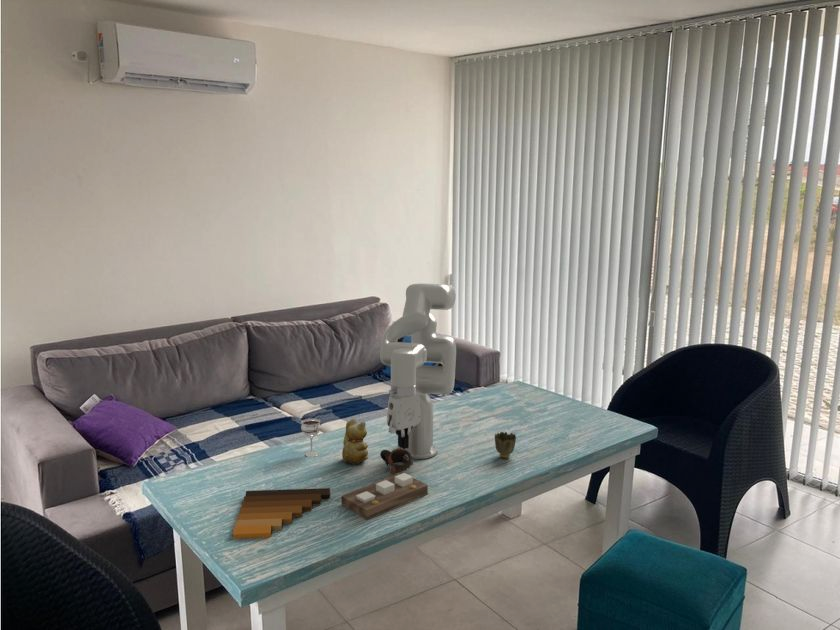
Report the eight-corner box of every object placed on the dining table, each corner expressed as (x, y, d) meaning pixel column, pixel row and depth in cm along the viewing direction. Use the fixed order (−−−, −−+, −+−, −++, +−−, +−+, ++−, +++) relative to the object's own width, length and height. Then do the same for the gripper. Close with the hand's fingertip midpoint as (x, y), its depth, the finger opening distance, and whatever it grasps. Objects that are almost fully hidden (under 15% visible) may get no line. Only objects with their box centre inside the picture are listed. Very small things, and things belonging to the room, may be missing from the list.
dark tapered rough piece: (490, 458, 242) (491, 437, 241) (498, 451, 249) (499, 430, 247) (510, 463, 239) (511, 441, 237) (518, 455, 245) (519, 434, 244)
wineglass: (320, 458, 242) (319, 425, 239) (300, 458, 242) (299, 425, 239) (322, 450, 248) (321, 418, 246) (303, 450, 248) (302, 418, 246)
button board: (341, 505, 209) (341, 495, 208) (401, 481, 225) (401, 471, 224) (366, 519, 200) (366, 509, 199) (427, 493, 216) (427, 484, 216)
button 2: (394, 484, 217) (394, 476, 217) (404, 480, 220) (404, 472, 219) (403, 488, 214) (403, 480, 214) (412, 484, 217) (412, 476, 216)
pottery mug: (416, 466, 237) (418, 451, 232) (404, 487, 231) (405, 473, 225) (385, 452, 241) (385, 437, 235) (372, 473, 234) (372, 458, 229)
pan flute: (330, 495, 216) (247, 498, 214) (329, 485, 215) (246, 488, 213) (326, 537, 191) (233, 541, 189) (326, 526, 191) (232, 529, 189)
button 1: (356, 503, 207) (356, 495, 207) (366, 498, 210) (366, 491, 209) (364, 507, 204) (364, 500, 204) (375, 503, 207) (375, 495, 207)
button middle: (375, 491, 212) (375, 483, 212) (385, 487, 215) (385, 479, 214) (384, 496, 209) (384, 488, 209) (394, 491, 212) (394, 484, 211)
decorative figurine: (372, 461, 240) (372, 419, 237) (357, 469, 233) (357, 426, 230) (350, 454, 245) (350, 413, 242) (335, 462, 238) (334, 420, 235)
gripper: (392, 398, 203) (392, 457, 207) (430, 387, 213) (429, 444, 217) (376, 392, 208) (376, 450, 212) (413, 381, 218) (413, 437, 222)
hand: (403, 447), depth 214 cm, fingers closed
